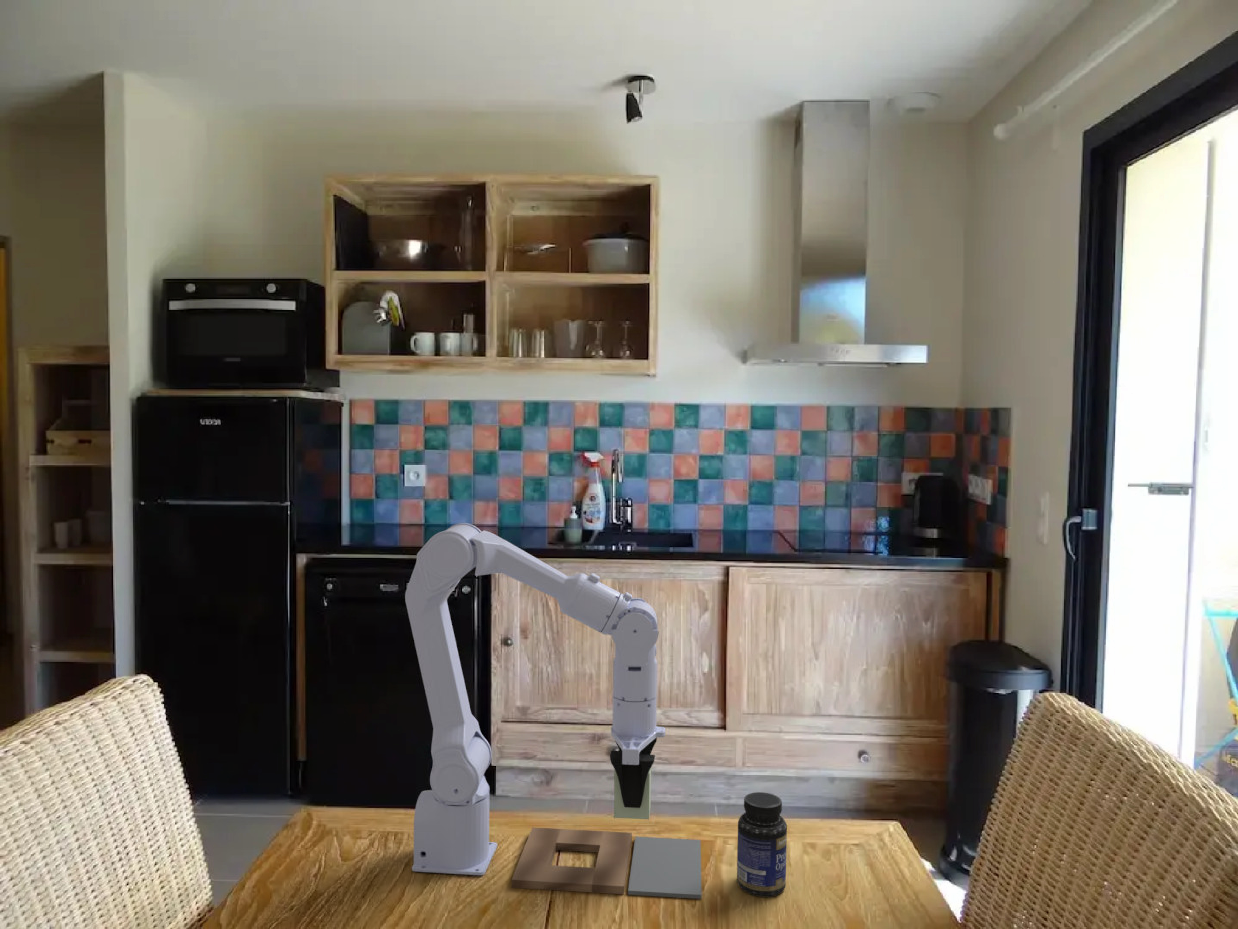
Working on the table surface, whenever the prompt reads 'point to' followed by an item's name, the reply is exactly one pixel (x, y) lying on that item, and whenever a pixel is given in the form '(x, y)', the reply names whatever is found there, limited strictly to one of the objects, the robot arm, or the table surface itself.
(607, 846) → the pocket board
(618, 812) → the sage block
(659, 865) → the mat
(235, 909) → the table surface
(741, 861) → the pill bottle
